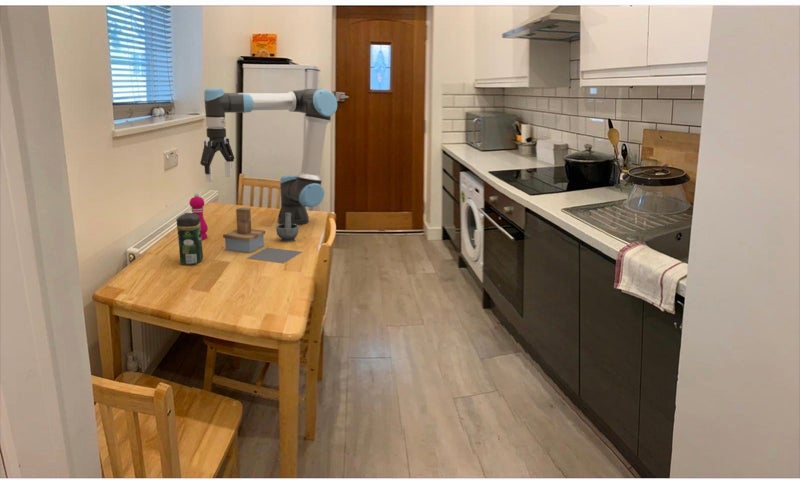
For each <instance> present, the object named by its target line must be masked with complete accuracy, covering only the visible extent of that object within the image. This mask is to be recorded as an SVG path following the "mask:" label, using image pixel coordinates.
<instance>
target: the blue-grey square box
mask: <svg viewBox="0 0 800 480" xmlns="http://www.w3.org/2000/svg"><path fill="white" fill-rule="evenodd" d="M264 237H265V234H263V235H261V236H259V237H257V238H255V239H253V240H251V241H246V240H238V239H229V238H224V240H225V241H224V243H225V244H224V245H225V251H230V252H237V253H246V254H251V253H253V252H254V251H255V252H256V251H257V250H259V249H261V248H263V247H264V246H265V238H264Z"/></svg>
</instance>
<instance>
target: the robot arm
mask: <svg viewBox="0 0 800 480" xmlns="http://www.w3.org/2000/svg"><path fill="white" fill-rule="evenodd" d="M203 96H204V99H203V101H204V109H205V112H204V113H205V127H206V137H207V138H208V140H204V141H203V144H204V145H203V149H202V154H201V158H200V161H199V162H200V165H201V166H202V167H204V174H205V182H206V183H208V182H209V183H213V182H214V181H213V180H214V179H213V167H212V165H211V164H212V163H213V162H212V161H213V159H214V157H215V155H216V153H217V152H220V153H221V156H223V158H224V160H225V161H224V175H225V178H232V177H233V176H232V175H233V174H232V172H233V171H232V170H233V169H232V162H234V161H235V155H234V153H233V150H232V146H231V144H230V139H229V138H228V137H227V129H226V128H225V127H226V114H229V113H232V114H233V113H235V114H236V113H237V114H238V113H243V114H246V113H251V112H252V111H283V110H284V111H285V110H287V111H289V112H291V113H293V112H295V113H302V114H305V115H304V118H305V119H306V120H307V127H306V132H305V138H304V139H305V140H304V145H303V155H302V162H301V168H300V169H301V170H300V173H299V174H296V175H293V174H292V175H284V176H282V177H280V183H279V186H280V210H279V213H278V216H277V222H278V224H279V225H280V224H285V213H291V224H296V225H299V226H301V225H305V224H308V223H309V222H310V217H309V214H308V211H307V208H315V207H317V206H318V205H320V204H321V203H322V201H323V200H324V197H325V190H324V188H323V187H322V178H321V176H320V172H321V165H322V164H321V163H322V157H323V153H324V152H323V150H324V144H325V137H326V129H327V125H328V124H329V123H330V122H331V120H332V116H334V114H335V113H336V111H337V110H338V109H337V108H338V100H337V98H336V95H334V93H333V92H332V91H330V90H327V89H323V88H318V89H317V88H306V89H298V90H288V91H287V92H225V91H224V89H223V88H212V87H211V88H210V87H209V88H205V89H204V93H203Z"/></svg>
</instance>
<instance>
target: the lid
mask: <svg viewBox="0 0 800 480" xmlns="http://www.w3.org/2000/svg"><path fill="white" fill-rule="evenodd" d="M251 214H252V213H251V207H242V206H241V207H239V208H236V209H235V215H236V216H235V217H236V229H234V230H231V231H229V232H227V233H223V234H222V238H223V239H225V238H229V239H238V240H246V241H251V240H253V239H255V238H257V237H259V236H261V235H263V234H264V235H265V234H266V231H265V230H261V229H253V228H252V215H251Z"/></svg>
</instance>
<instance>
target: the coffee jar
mask: <svg viewBox="0 0 800 480" xmlns="http://www.w3.org/2000/svg"><path fill="white" fill-rule="evenodd" d="M176 229H177V238H178V249H179V262H180V264H181V265H187V266H194V265H198V264H200V263H201V262H203V260H204V259H203V258H204V253H203V251H204V250H203V240H201V227H200V217H199V215H197V214H196V213H193V212H184V213H183V214H181V215H179V216H178V217H177V218H176Z"/></svg>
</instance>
